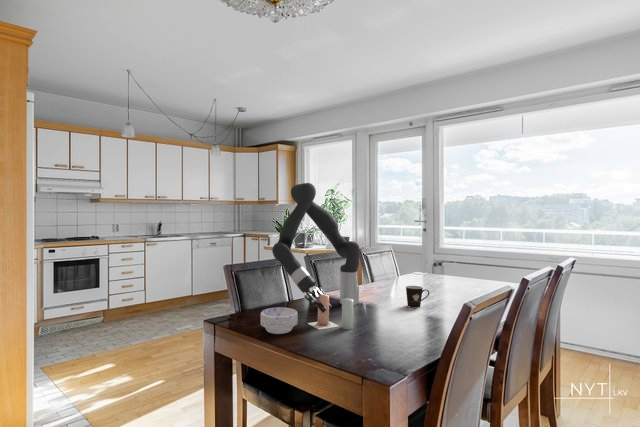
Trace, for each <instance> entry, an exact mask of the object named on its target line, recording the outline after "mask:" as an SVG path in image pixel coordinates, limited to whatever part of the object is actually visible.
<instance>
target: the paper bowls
mask: <svg viewBox="0 0 640 427" xmlns="http://www.w3.org/2000/svg"><path fill="white" fill-rule="evenodd" d="M298 314H299V312H298V311H297V310H296V309H294V308H291V307H290V308H289V307H283V306H282V307H279V306H278V307H277V306H276V307H271V308H270V307H269V308H266V309H263V310H262V311H261V312H260V325H261V327H262V328H265V330H266V332H268V333H270V334H273V335H283V334H288V333H290V332H291V331H292V330H293V328H294V327H295V326H297V325H298V321H299V317H298V316H299V315H298Z"/></svg>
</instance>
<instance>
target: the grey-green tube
mask: <svg viewBox="0 0 640 427" xmlns="http://www.w3.org/2000/svg"><path fill="white" fill-rule="evenodd" d="M341 329H343V330H347V331H348V330H353V329H354V305H353V299H351V298H344V299H342V304H341Z"/></svg>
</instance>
